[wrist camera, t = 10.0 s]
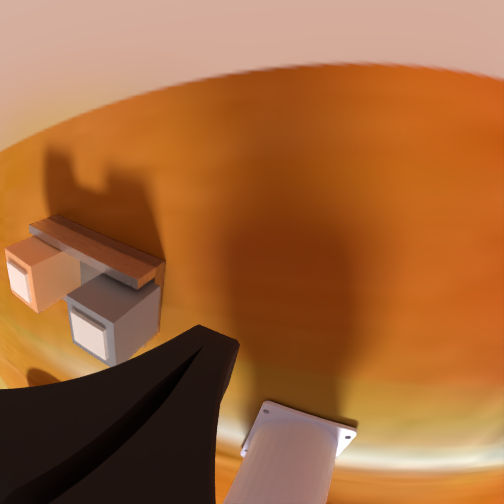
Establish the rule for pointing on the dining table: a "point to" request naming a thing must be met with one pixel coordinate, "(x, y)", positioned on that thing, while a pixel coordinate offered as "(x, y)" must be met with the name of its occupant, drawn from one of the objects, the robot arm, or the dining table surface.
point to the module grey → (113, 317)
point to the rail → (101, 255)
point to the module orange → (41, 273)
